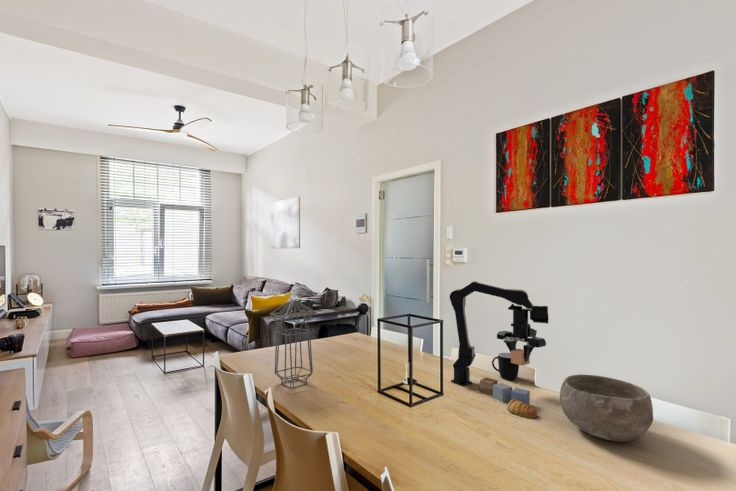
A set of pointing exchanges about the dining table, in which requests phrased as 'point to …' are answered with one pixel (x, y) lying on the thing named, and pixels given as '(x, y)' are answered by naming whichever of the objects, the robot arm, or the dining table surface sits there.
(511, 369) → the mug
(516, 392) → the blue cube
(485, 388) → the walnut cube
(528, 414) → the pastry
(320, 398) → the dining table surface
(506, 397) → the slate cube
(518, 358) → the terracotta cube
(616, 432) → the bowl
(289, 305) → the geometric lantern
